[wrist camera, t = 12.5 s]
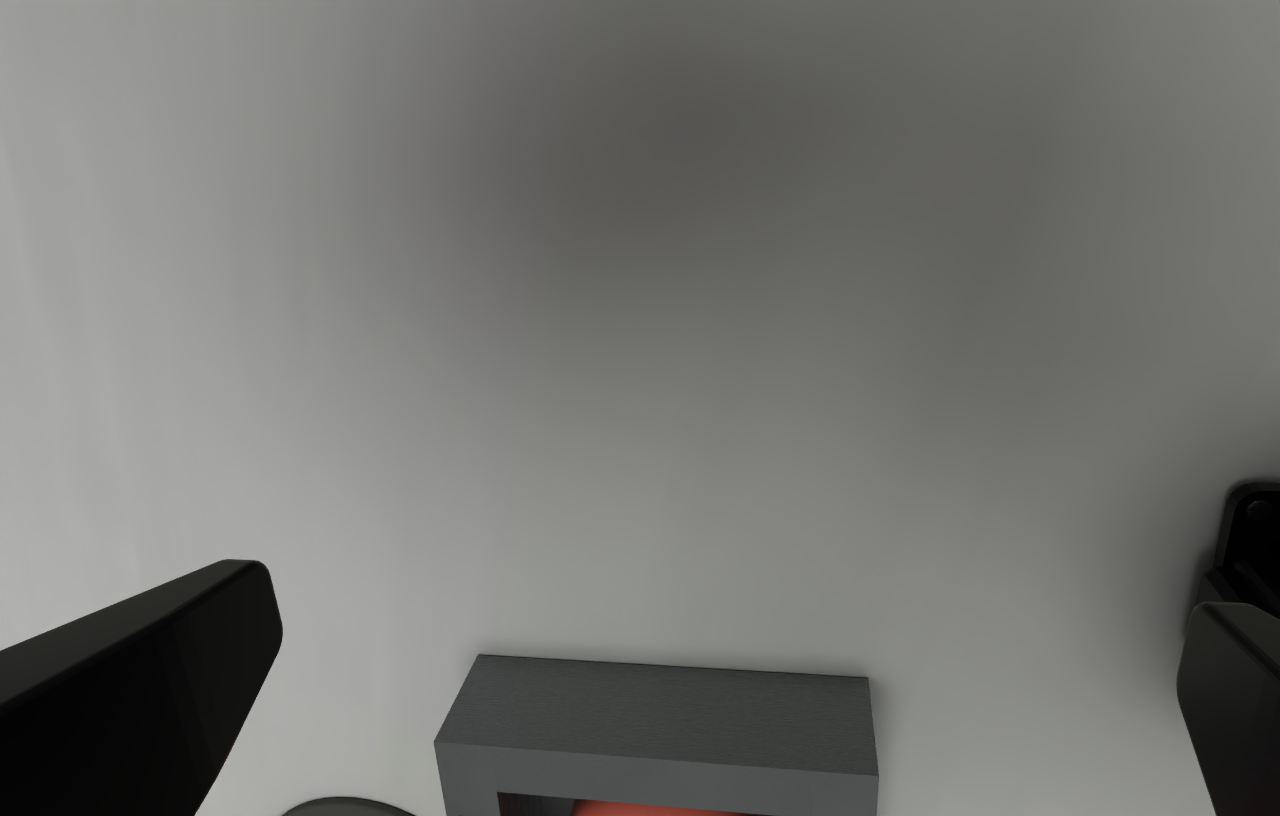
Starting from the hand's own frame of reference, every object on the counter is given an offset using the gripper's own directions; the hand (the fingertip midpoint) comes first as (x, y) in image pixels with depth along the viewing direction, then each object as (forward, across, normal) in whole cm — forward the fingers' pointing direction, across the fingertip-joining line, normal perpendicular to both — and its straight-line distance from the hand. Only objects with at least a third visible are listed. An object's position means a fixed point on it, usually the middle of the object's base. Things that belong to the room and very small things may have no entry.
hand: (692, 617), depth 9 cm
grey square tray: (+13, +2, +16) cm, 21 cm away
